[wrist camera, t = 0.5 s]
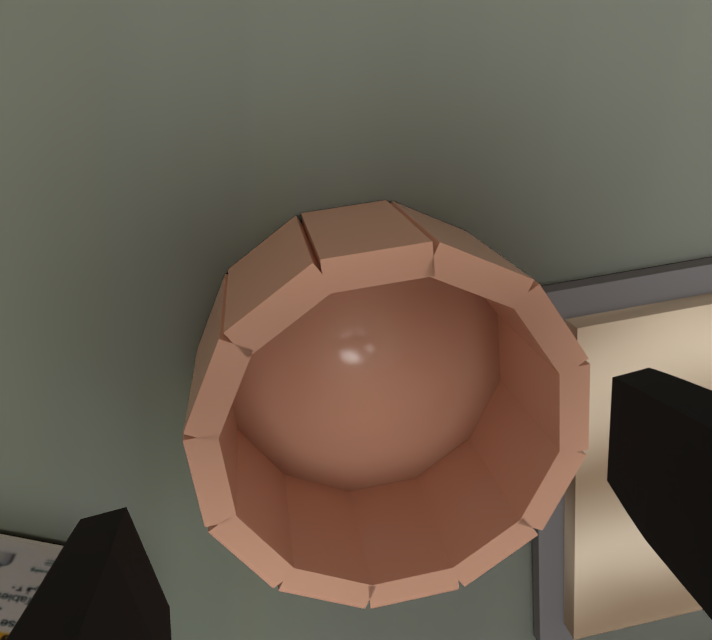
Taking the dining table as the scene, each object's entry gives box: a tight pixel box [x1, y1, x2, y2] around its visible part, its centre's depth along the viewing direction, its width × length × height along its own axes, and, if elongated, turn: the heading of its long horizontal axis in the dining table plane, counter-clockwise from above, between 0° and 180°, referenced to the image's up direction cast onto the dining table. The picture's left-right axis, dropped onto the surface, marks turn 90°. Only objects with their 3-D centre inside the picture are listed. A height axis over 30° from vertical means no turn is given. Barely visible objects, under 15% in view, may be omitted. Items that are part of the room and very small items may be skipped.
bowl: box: [183, 200, 590, 609], centre depth 18 cm, size 10×10×5 cm
